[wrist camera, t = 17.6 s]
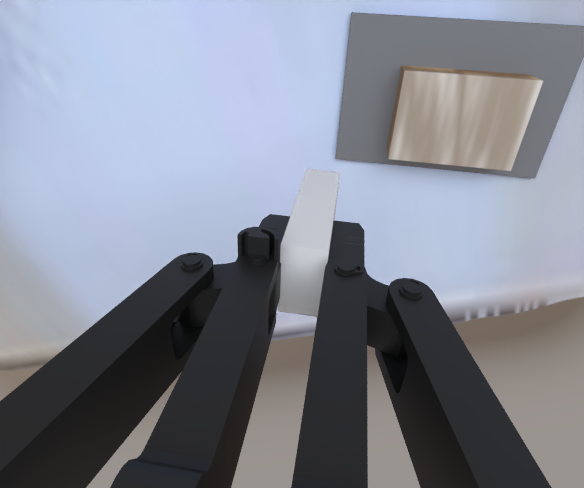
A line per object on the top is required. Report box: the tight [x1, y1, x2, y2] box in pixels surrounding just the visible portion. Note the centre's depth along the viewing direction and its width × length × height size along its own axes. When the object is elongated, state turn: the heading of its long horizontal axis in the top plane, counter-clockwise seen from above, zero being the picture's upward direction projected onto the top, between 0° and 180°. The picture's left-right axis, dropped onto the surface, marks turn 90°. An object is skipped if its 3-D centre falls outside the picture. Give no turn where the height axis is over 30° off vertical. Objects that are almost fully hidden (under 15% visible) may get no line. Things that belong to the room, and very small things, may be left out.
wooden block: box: [387, 65, 543, 171], centre depth 33 cm, size 3×7×10 cm
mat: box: [336, 13, 584, 178], centre depth 34 cm, size 18×12×1 cm, turn 87°
